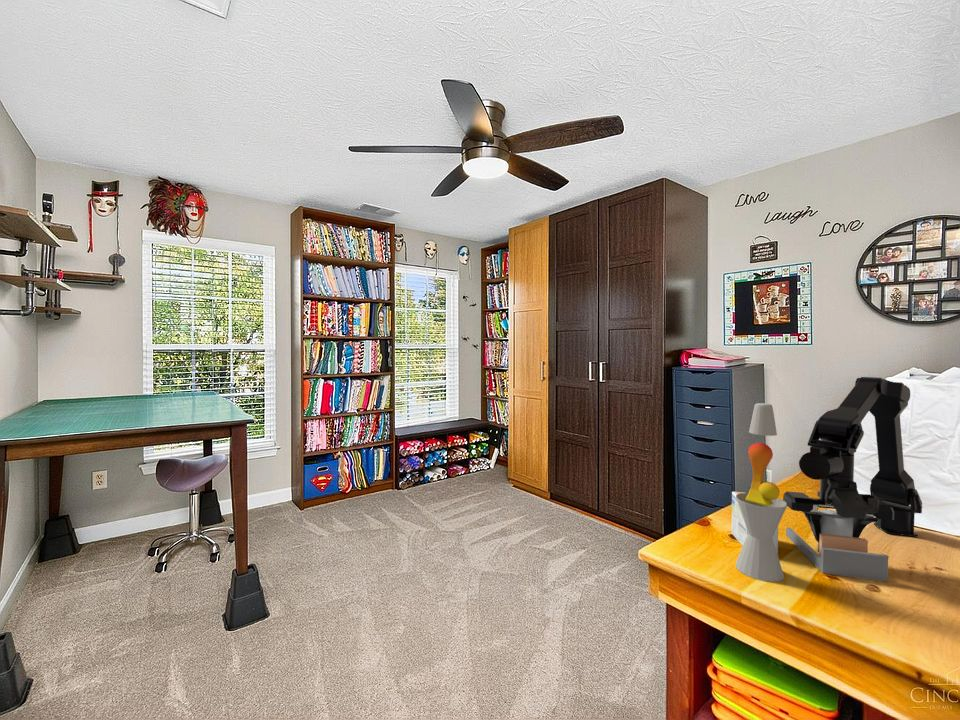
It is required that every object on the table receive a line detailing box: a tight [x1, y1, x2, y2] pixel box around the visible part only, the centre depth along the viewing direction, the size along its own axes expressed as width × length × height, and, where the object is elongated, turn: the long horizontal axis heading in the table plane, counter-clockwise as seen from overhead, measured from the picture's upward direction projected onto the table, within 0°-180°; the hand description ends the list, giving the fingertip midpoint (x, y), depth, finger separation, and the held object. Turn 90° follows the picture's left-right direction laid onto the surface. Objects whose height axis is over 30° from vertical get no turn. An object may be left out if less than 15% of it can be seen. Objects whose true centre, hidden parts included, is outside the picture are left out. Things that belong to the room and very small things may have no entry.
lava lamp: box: [734, 402, 788, 583], centre depth 92 cm, size 9×9×35 cm
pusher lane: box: [785, 526, 889, 582], centre depth 100 cm, size 11×20×5 cm, turn 164°
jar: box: [816, 509, 853, 554], centre depth 98 cm, size 6×6×9 cm
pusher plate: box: [818, 534, 869, 556], centre depth 95 cm, size 8×1×6 cm, turn 74°
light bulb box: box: [730, 491, 779, 555], centre depth 106 cm, size 11×7×11 cm, turn 168°
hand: (834, 543), depth 98 cm, fingers closed on jar, 6 cm apart
